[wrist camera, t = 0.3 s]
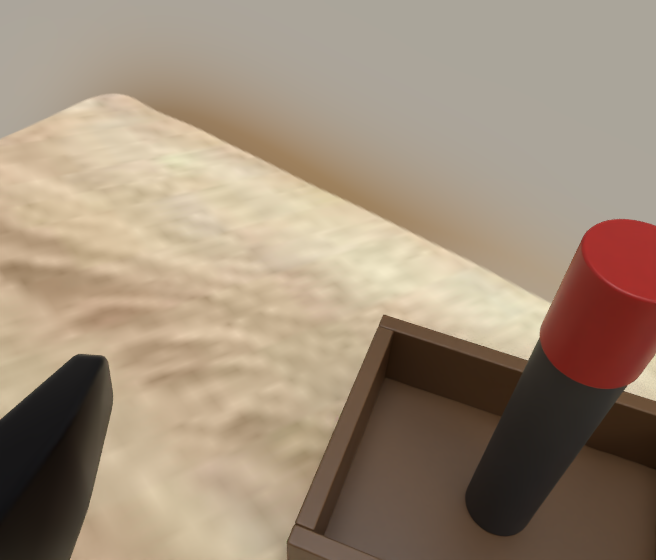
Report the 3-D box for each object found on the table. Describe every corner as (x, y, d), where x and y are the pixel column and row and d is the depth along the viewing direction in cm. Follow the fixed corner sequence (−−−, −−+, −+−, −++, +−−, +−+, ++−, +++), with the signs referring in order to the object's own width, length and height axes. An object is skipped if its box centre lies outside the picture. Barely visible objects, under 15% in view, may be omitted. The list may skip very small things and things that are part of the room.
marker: (541, 537, 24) (729, 302, 14) (470, 540, 24) (606, 303, 13) (522, 469, 26) (675, 217, 16) (456, 471, 26) (566, 217, 15)
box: (667, 746, 20) (731, 728, 17) (286, 581, 23) (286, 542, 20) (669, 465, 27) (715, 419, 24) (374, 365, 30) (383, 313, 27)
